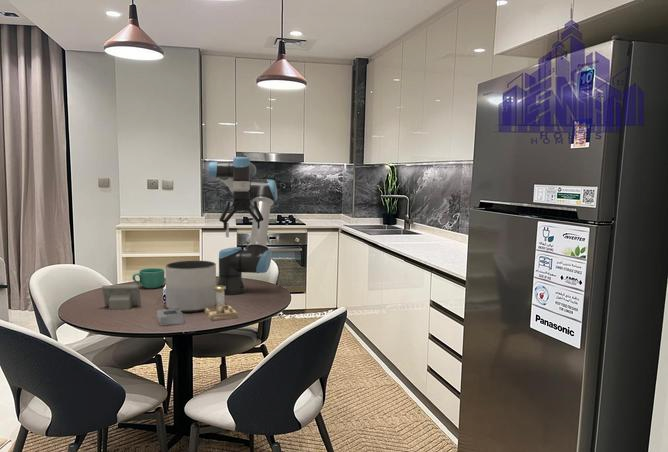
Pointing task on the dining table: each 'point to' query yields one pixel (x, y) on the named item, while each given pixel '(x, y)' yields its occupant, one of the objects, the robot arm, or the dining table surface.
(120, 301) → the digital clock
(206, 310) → the tray
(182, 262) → the planter
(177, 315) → the block
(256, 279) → the dining table surface
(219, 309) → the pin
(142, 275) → the mug
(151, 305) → the dining table surface
